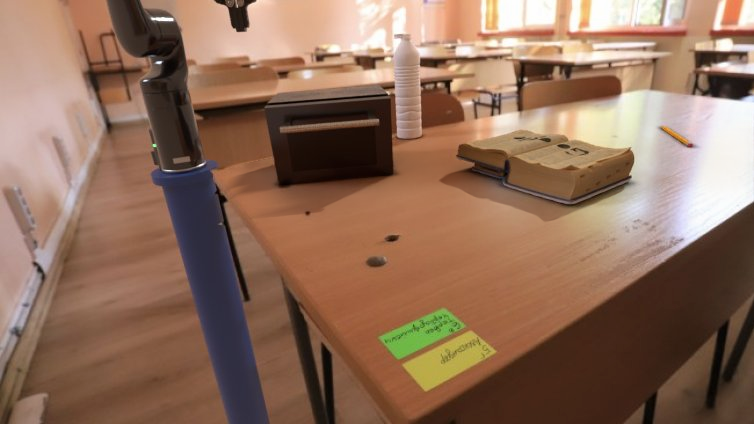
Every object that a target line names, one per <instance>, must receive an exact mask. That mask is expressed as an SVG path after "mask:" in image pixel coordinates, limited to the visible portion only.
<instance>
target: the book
mask: <svg viewBox="0 0 754 424" xmlns="http://www.w3.org/2000/svg"><path fill="white" fill-rule="evenodd" d="M631 149H632V146H629V147H623V148H614V147H607V146H606V147H605V146H601V145H595V144H591V143H589V142H586V141H583V140H581V139H570V140H569V138H568V137H567V136H566V135H565V134H561V133H560V134H559V133H558V134H555V133H553V134H551V133H549V134H548V133H547V134H542V133H535V132H533V131H530V130H528V129H527V130H526V129H519V130H514V131H511V132H509V133H505V134H501V135H497V136H492V137H488V138H483V139H477V140H474V141H468V142H464V143H460V144H459V145H458V148H457V154H455V157H456V159H458V160H459V161H464V162H469V163H473V165H474V166H472V171H473V172H478V173H480V174H483V175H487V176H488V177H489V176H490V177H493V178H495V179H501V181H502V184H503V185H504V186H505V187H508V188H510V189H513V190H517V191H520V192H522V193H525V194H530V195H533V196H535V197H540V198H543V199H546V200H551V201H554V202H557V203H560V204H561V203H562V204H566V205H575V204H578V203H580V202H583V201H585V200H588V199H591V198H592V197H595V196H596V195H599V194H601V193H605V192H607V191H609V190H612V189H613V188H616V187H619V186H621V185H625V184H626V183H628V182H629V181H631V179H632V178H633V177H632V175H630V173H631V171H632V169H633V167H634V164H635V154H634V152H633V150H631Z"/></svg>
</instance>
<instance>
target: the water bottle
mask: <svg viewBox="0 0 754 424" xmlns="http://www.w3.org/2000/svg"><path fill="white" fill-rule="evenodd" d="M393 39H394V40H396V39H400V42H399V43H398V45H397V47H396V49H395V50H394V53H393V58H392V59H393V60H392V61H393V72H394V96H395V98H394V100H395V101H394V103H395V119H396V121H395V122H396V136H397V138H399V139H403V140H409V139H410V140H412V139H418V138H421V137H422V135H423V131H422V130H423V128H422V103H421V102H422V96H421V95H422V88H421V65H420V64H421V54H420V51H419V49H418V48H417V46H416V45H415V44H414V41H413V40H412V37H411V33H393Z"/></svg>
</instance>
